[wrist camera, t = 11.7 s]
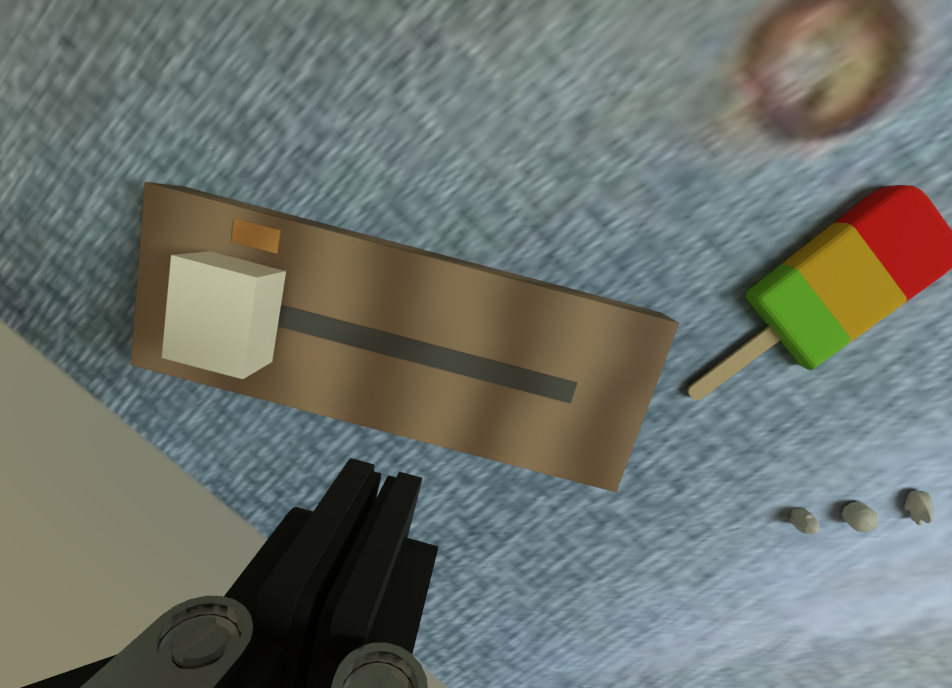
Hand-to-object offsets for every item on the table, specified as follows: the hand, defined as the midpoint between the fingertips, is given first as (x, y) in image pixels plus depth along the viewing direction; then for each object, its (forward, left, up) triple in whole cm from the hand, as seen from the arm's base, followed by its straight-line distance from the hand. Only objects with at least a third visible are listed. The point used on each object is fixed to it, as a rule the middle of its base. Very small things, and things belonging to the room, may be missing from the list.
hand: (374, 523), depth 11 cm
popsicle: (-18, -7, -19) cm, 27 cm away
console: (+3, +1, -18) cm, 19 cm away
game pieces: (-26, +4, -19) cm, 33 cm away
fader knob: (+11, +1, -15) cm, 19 cm away
